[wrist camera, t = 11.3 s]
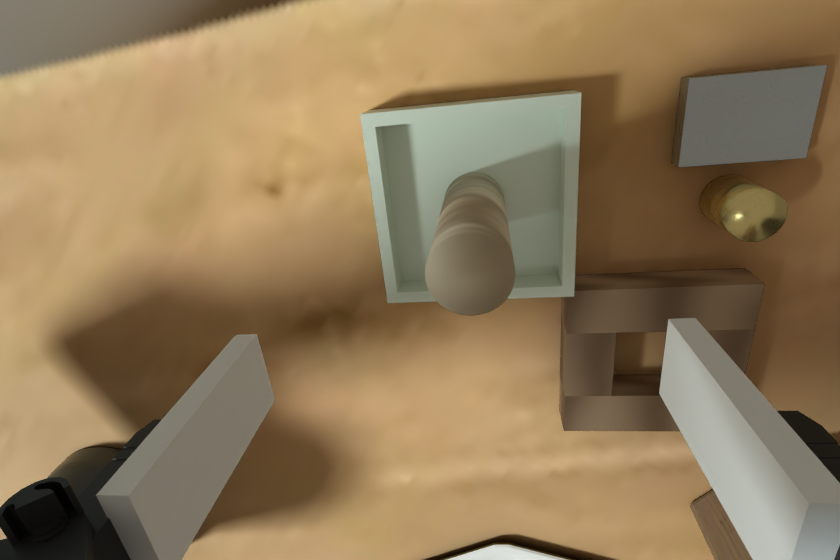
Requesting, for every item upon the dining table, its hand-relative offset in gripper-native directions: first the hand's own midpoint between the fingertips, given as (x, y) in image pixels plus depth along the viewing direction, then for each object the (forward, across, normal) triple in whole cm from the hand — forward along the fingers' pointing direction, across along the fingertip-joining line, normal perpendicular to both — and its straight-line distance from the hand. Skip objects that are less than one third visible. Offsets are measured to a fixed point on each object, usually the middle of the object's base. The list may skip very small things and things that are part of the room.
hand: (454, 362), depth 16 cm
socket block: (+19, +13, -12) cm, 26 cm away
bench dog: (+19, +17, -1) cm, 25 cm away
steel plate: (+19, +17, +4) cm, 25 cm away
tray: (+19, +1, 0) cm, 19 cm away
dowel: (+18, +1, 0) cm, 18 cm away
